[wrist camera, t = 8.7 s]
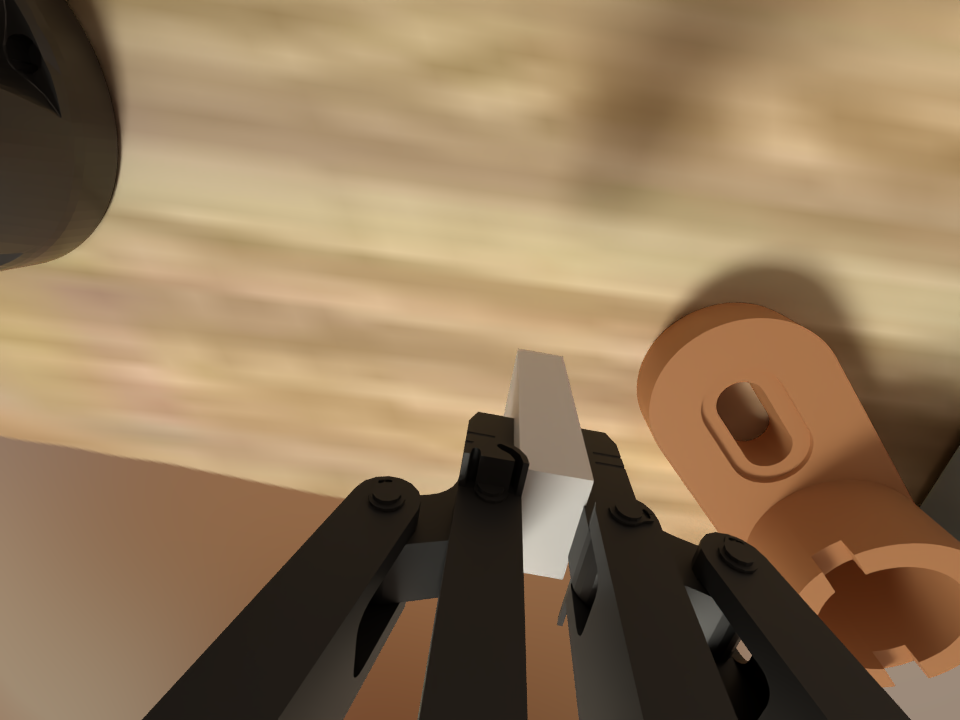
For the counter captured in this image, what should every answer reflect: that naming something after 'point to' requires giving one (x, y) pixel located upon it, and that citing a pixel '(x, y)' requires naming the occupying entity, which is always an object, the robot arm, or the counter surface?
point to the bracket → (806, 483)
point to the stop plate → (946, 498)
